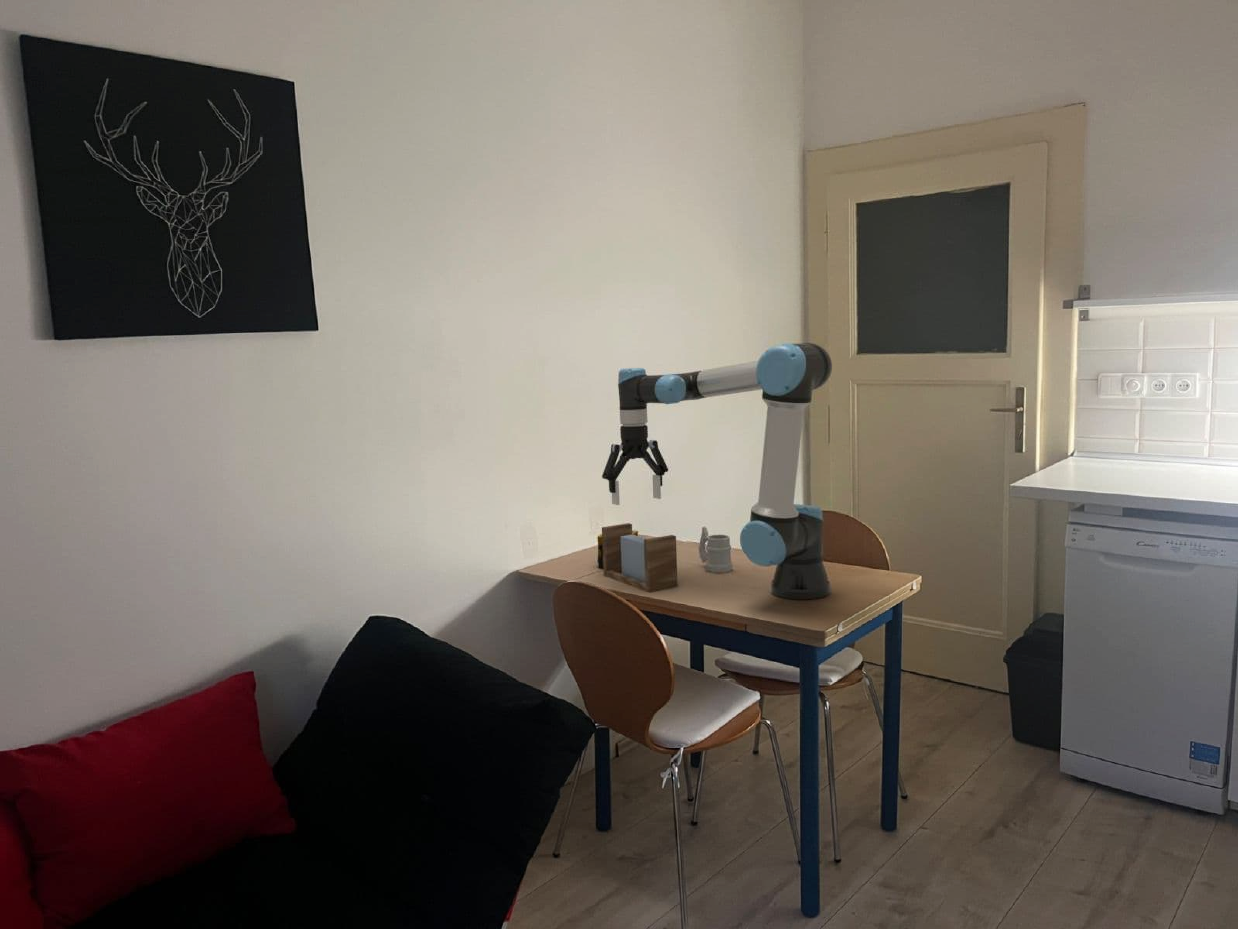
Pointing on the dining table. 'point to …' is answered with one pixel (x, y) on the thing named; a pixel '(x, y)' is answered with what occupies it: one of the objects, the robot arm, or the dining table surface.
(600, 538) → the dark brown pieces
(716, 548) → the mug
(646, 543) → the rack
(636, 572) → the pale blue book
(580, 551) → the dining table surface
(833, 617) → the dining table surface
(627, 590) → the dining table surface
